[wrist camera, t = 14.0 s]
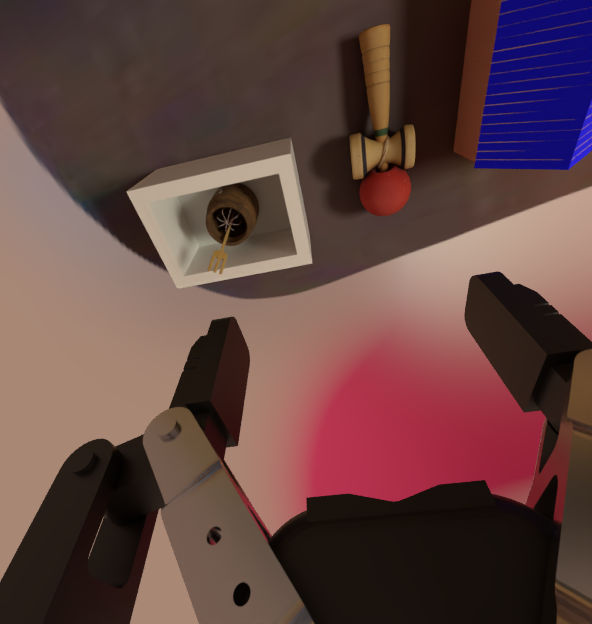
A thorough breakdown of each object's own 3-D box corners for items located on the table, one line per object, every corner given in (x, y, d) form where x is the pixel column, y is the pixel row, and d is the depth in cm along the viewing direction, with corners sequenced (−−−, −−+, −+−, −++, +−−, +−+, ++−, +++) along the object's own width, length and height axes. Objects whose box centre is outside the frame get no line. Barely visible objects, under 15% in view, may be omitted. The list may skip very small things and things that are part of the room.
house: (449, 154, 38) (499, 181, 29) (478, -104, 26) (579, -198, 17) (553, 135, 37) (640, 157, 28) (634, -145, 25) (834, -269, 16)
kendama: (324, 49, 33) (348, 218, 42) (341, 29, 28) (365, 228, 36) (394, 32, 33) (404, 203, 42) (424, 8, 28) (428, 211, 37)
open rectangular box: (156, 169, 39) (126, 191, 32) (290, 137, 37) (290, 153, 30) (195, 254, 46) (177, 288, 39) (309, 232, 44) (312, 263, 37)
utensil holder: (264, 189, 39) (256, 226, 30) (253, 233, 43) (242, 280, 34) (218, 173, 38) (193, 207, 29) (209, 220, 42) (185, 265, 32)
